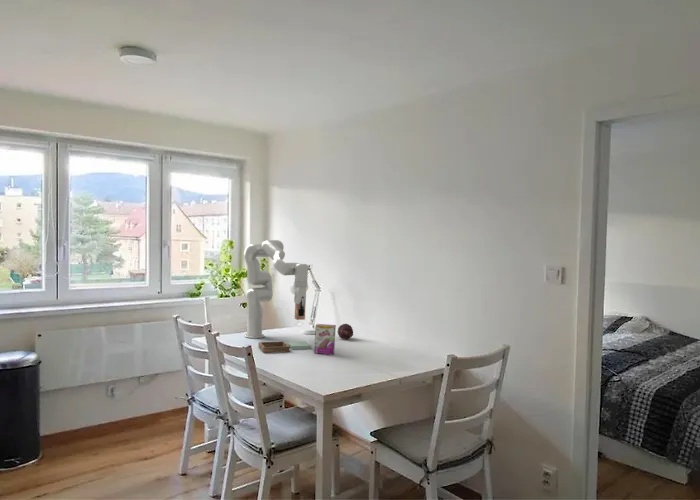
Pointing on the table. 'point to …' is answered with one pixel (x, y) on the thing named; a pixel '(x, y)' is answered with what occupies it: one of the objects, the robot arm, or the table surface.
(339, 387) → the table surface
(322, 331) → the candy bar box
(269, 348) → the brown wooden tray
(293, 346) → the green board
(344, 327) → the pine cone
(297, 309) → the wooden block
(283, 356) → the table surface
